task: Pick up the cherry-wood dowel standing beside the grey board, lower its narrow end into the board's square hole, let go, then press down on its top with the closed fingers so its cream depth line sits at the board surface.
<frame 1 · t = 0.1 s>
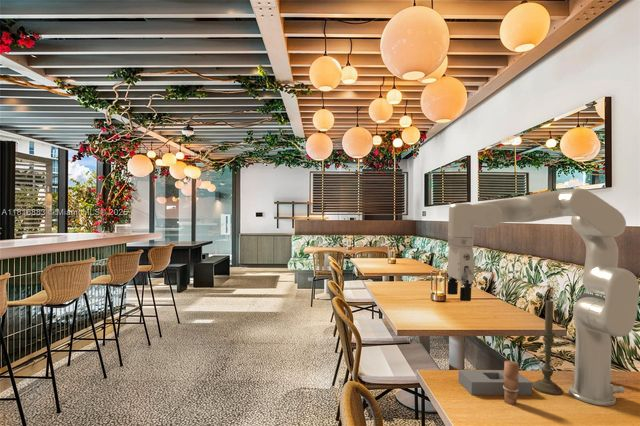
hand: (458, 297, 126), 31 cm above the table, tool pointing down, fingers open, 9 cm apart
seat board: (493, 388, 133), on the table
dowel: (510, 402, 123), on the table
candlestick holder: (546, 389, 134), on the table
rubber mallet: (594, 379, 144), on the table
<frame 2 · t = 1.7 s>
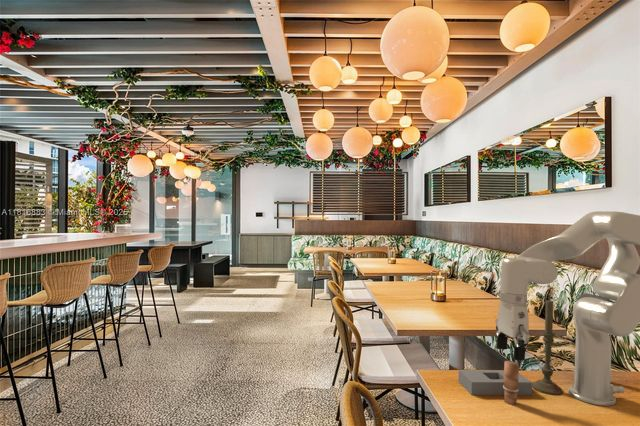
hand: (510, 354, 123), 15 cm above the table, tool pointing down, fingers open, 9 cm apart
nothing on the table moved.
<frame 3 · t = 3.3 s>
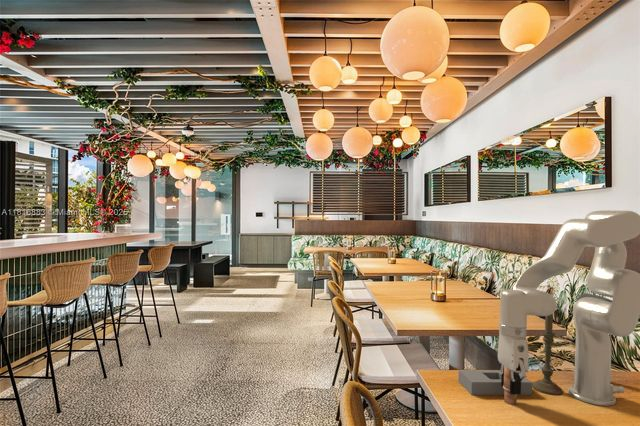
hand: (510, 389, 123), 4 cm above the table, tool pointing down, fingers closed on dowel, 4 cm apart
dowel: (510, 402, 123), on the table, touching gripper
everything else where it was.
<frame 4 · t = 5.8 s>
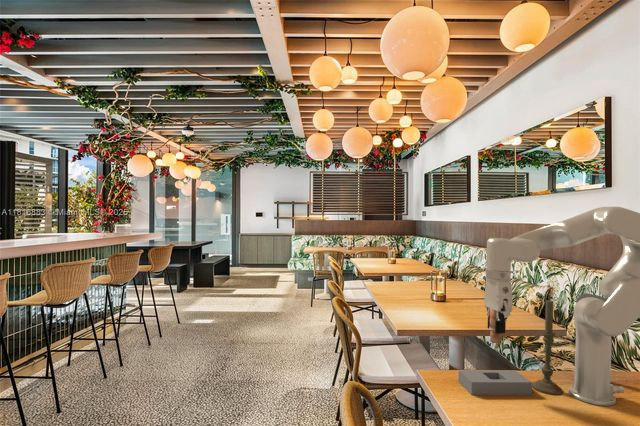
hand: (496, 330, 133), 19 cm above the table, tool pointing down, fingers closed on dowel, 4 cm apart
dowel: (495, 341, 133), point 15 cm above the table, touching gripper
everything else where it was.
when the fingers open (5 cm above the table, at t = 8.2 s): dowel drops 2 cm, resting in seat board.
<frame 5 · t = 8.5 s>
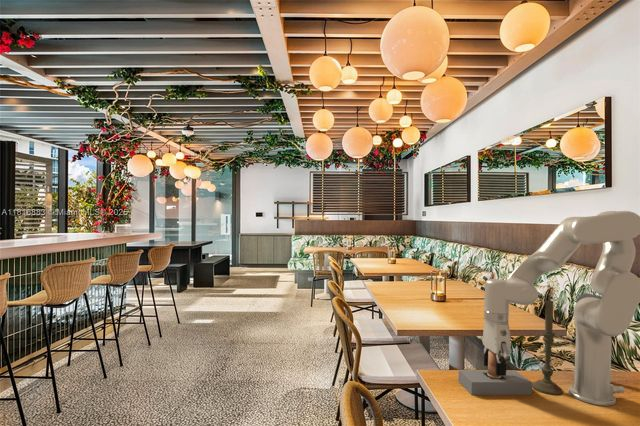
hand: (494, 369, 133), 6 cm above the table, tool pointing down, fingers open, 7 cm apart
dowel: (493, 388, 133), resting in seat board
everything else where it was.
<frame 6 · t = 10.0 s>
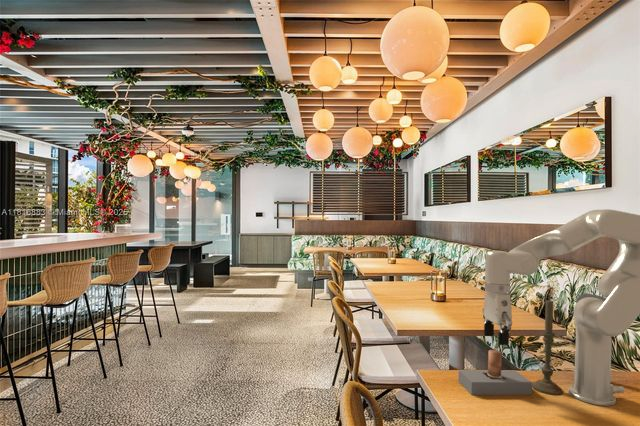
hand: (495, 339, 133), 16 cm above the table, tool pointing down, fingers open, 9 cm apart
nothing on the table moved.
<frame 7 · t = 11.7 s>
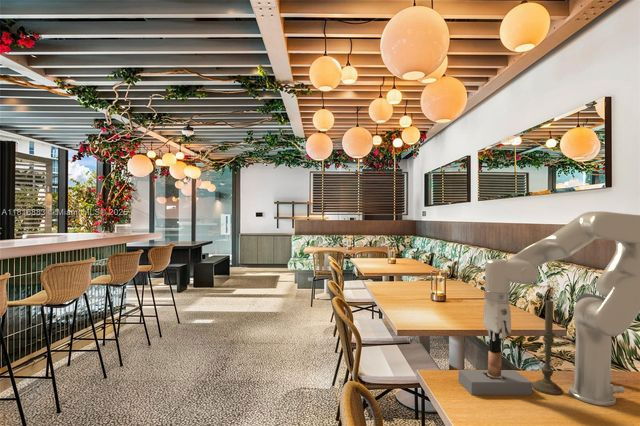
hand: (494, 351, 133), 12 cm above the table, tool pointing down, fingers closed
dowel: (493, 388, 133), resting in seat board, touching gripper
everything else where it was.
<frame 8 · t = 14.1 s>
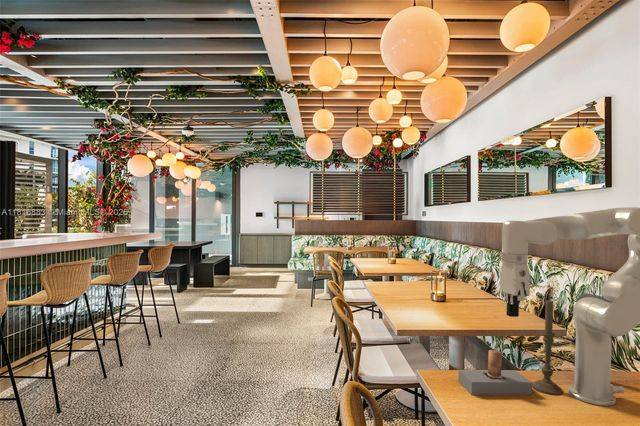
hand: (512, 315, 129), 25 cm above the table, tool pointing down, fingers closed
dowel: (493, 388, 133), resting in seat board
everything else where it was.
at the end: dowel 0.0 cm off-centre on the seat board, point 0.0 cm above the seat board's base; dowel tilted 0°; the gripper is holding nothing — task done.
